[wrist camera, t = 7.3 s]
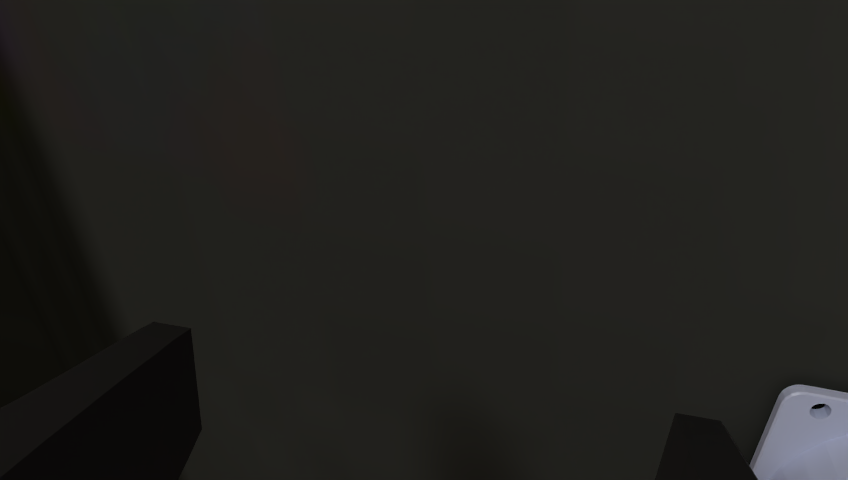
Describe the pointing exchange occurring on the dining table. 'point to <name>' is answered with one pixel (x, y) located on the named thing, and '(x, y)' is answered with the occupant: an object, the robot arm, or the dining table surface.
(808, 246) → the dining table surface
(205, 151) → the dining table surface
